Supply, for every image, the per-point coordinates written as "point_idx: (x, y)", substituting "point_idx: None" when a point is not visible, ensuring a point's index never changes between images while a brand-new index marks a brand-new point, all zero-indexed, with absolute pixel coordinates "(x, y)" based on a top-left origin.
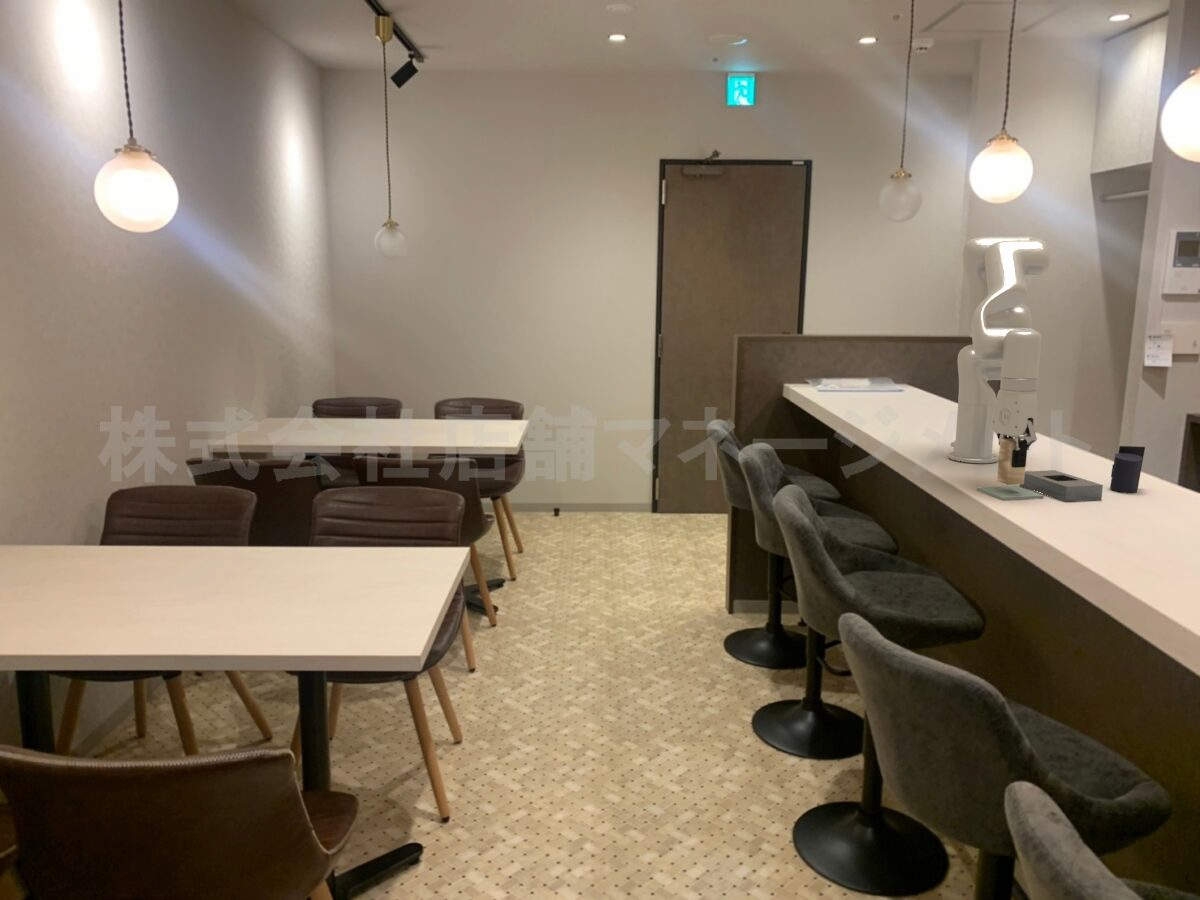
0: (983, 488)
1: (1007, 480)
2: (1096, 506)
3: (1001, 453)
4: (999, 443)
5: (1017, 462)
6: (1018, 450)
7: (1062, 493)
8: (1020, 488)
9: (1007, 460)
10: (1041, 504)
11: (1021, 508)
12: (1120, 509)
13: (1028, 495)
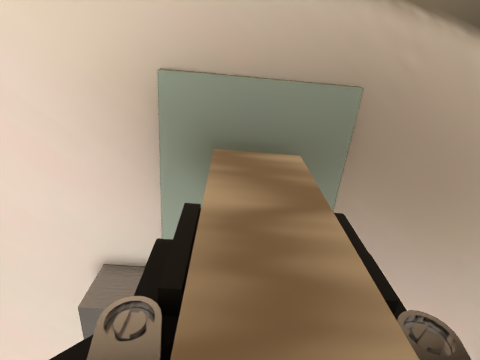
0: (338, 107)
1: (219, 156)
2: (44, 306)
3: (324, 242)
4: (442, 334)
5: (170, 241)
6: (127, 309)
7: (110, 284)
8: None
9: (231, 212)
10: (79, 174)
11: (12, 46)
12: (7, 334)
13: (176, 198)
